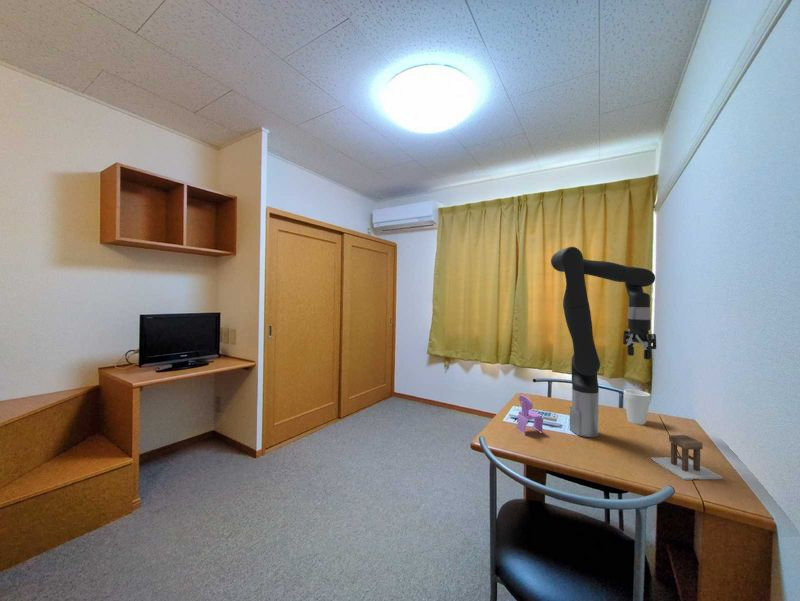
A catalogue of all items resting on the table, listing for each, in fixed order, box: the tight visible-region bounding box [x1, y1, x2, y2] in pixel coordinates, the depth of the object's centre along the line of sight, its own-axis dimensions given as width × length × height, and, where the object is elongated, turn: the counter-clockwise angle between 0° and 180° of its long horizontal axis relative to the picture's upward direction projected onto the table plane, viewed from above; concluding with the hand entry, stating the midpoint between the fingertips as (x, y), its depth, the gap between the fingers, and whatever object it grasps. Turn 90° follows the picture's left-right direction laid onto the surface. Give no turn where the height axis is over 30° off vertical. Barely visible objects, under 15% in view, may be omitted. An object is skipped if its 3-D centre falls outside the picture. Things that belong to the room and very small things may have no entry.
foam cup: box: [623, 388, 652, 426], centre depth 139 cm, size 10×9×13 cm
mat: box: [650, 456, 723, 481], centre depth 101 cm, size 12×12×1 cm
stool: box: [668, 434, 703, 471], centre depth 101 cm, size 6×6×9 cm
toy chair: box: [515, 394, 544, 435], centre depth 129 cm, size 8×9×15 cm
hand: (638, 357), depth 131 cm, fingers open, 8 cm apart
